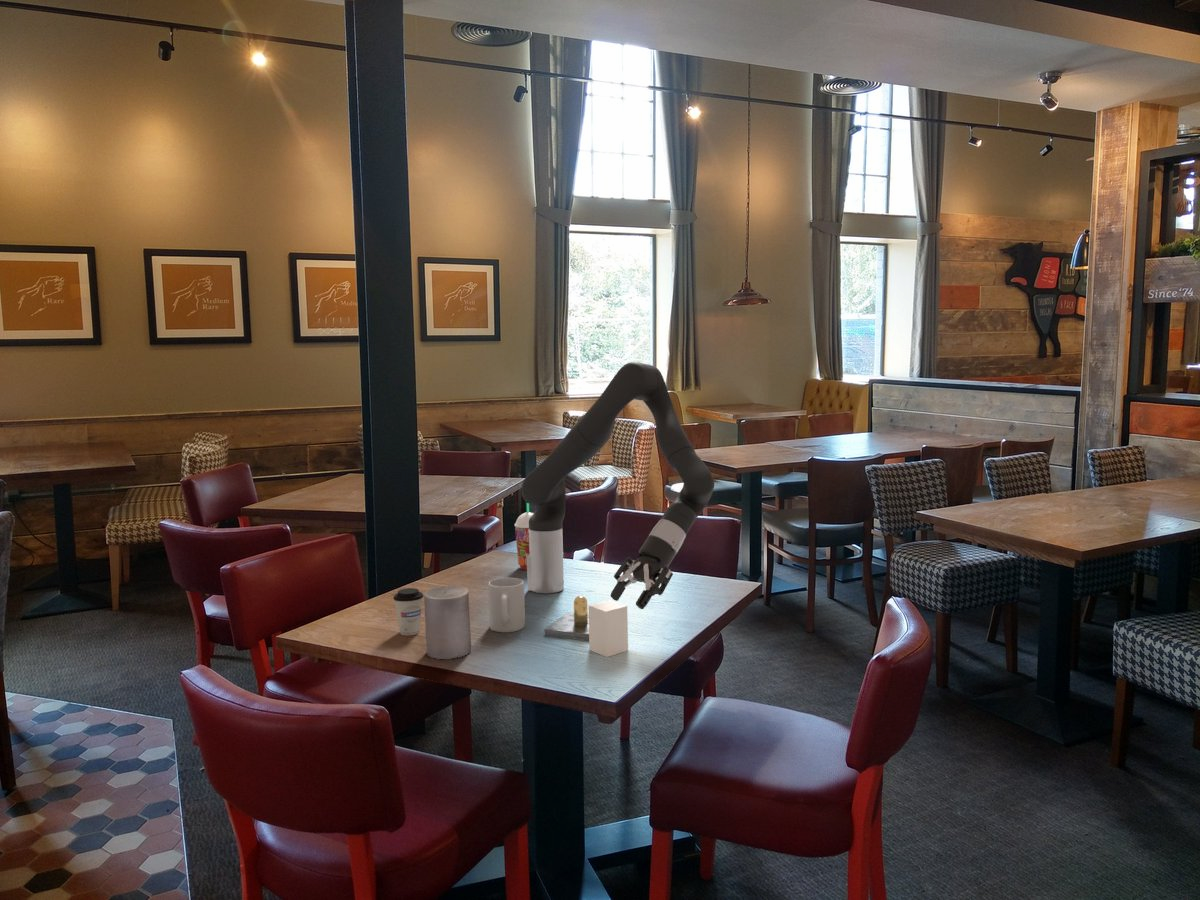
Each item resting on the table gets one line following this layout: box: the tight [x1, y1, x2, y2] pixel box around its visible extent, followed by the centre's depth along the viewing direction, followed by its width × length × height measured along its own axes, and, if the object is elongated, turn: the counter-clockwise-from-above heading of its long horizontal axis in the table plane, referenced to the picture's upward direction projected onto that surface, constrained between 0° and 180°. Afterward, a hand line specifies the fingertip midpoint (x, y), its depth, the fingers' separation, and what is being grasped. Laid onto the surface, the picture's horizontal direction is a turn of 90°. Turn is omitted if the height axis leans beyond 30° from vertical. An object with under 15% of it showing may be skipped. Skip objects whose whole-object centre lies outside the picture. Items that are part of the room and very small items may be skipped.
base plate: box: [543, 595, 589, 641], centre depth 197 cm, size 13×13×8 cm
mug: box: [487, 577, 526, 633], centre depth 199 cm, size 12×8×11 cm
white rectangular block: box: [588, 599, 629, 658], centre depth 183 cm, size 6×6×10 cm
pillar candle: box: [423, 585, 472, 660], centre depth 184 cm, size 10×10×15 cm
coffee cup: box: [393, 587, 424, 636], centre depth 198 cm, size 7×7×10 cm
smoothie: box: [514, 502, 535, 571], centre depth 255 cm, size 8×8×20 cm
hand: (626, 602), depth 186 cm, fingers open, 8 cm apart
